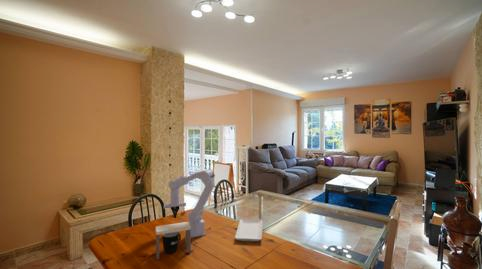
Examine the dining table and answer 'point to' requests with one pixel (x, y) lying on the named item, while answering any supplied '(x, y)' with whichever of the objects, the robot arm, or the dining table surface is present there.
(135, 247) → the dining table surface
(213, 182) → the robot arm
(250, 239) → the tray
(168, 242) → the mug
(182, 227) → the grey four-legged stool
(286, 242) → the dining table surface
